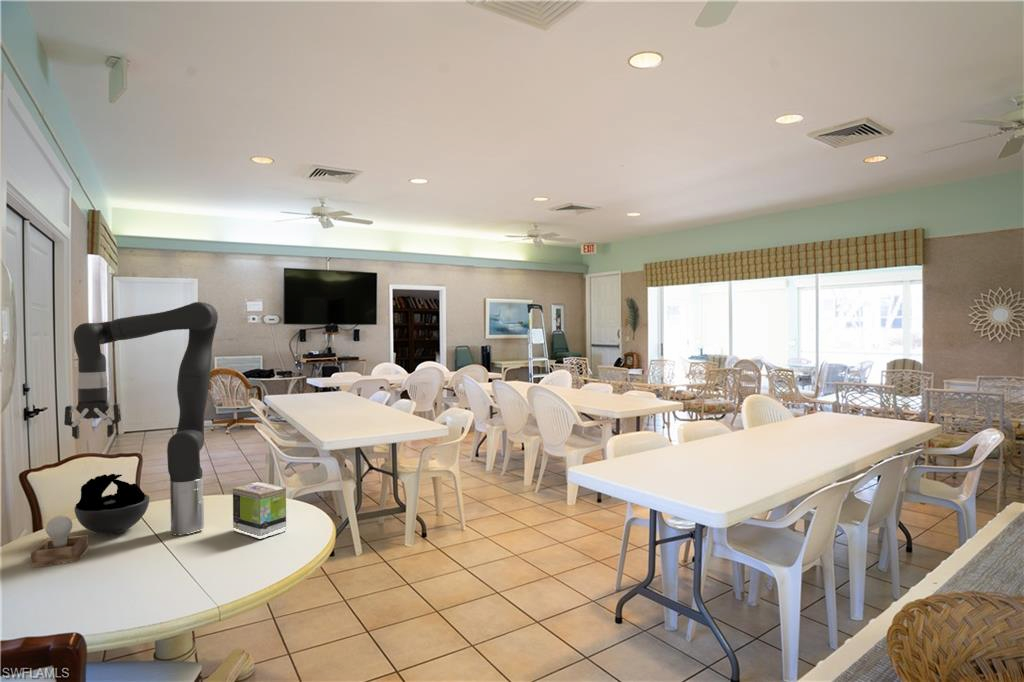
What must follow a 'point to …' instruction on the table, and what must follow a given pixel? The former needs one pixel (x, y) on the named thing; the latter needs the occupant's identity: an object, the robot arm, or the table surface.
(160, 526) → the table surface
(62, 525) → the lightbulb
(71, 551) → the wooden tray
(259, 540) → the table surface
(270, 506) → the tea box
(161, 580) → the table surface
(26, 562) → the table surface
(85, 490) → the coal bowl
